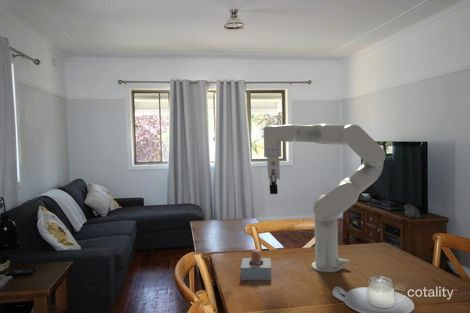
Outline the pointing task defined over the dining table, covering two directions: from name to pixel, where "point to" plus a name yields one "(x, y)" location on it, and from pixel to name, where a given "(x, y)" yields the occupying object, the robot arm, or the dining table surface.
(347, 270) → the dining table surface
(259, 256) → the peg
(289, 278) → the dining table surface
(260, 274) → the socket block
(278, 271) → the dining table surface
